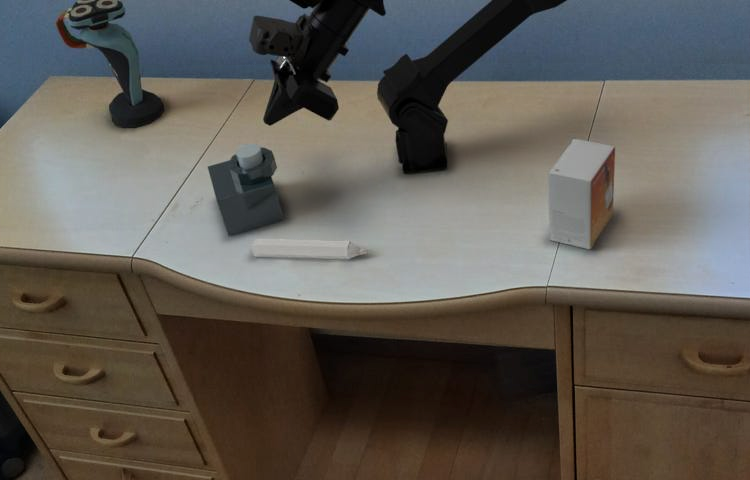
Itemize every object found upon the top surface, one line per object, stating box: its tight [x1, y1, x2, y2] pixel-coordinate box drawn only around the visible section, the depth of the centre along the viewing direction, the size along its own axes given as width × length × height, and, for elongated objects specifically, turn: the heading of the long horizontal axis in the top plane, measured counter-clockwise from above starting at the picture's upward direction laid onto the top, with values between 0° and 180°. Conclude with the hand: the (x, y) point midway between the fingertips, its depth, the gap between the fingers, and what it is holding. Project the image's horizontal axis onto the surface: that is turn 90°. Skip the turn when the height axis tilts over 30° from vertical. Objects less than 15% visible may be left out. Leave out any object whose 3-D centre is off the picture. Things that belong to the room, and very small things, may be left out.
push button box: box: [207, 146, 285, 237], centre depth 129 cm, size 9×9×8 cm
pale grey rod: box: [251, 238, 371, 260], centre depth 122 cm, size 3×2×16 cm
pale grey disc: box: [235, 142, 264, 169], centre depth 126 cm, size 3×3×2 cm
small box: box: [547, 138, 616, 250], centre depth 115 cm, size 8×6×10 cm
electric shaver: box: [55, 0, 166, 129], centre depth 150 cm, size 9×12×20 cm
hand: (266, 123), depth 124 cm, fingers closed
